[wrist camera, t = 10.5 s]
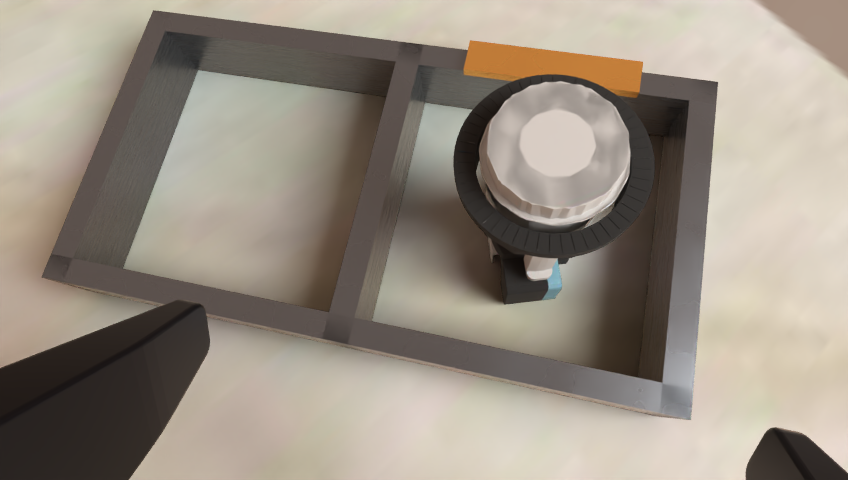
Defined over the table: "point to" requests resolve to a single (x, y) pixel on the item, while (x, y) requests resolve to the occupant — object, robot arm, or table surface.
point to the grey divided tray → (395, 193)
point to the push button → (551, 176)
